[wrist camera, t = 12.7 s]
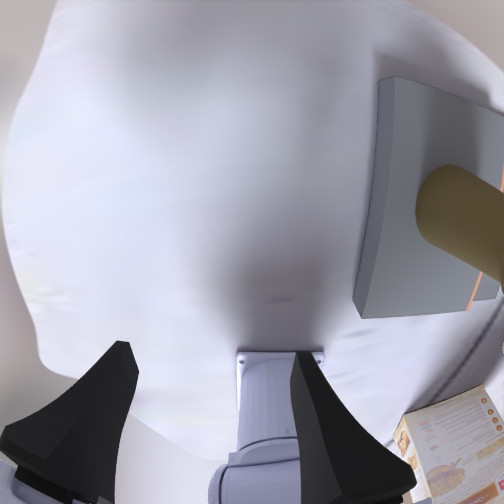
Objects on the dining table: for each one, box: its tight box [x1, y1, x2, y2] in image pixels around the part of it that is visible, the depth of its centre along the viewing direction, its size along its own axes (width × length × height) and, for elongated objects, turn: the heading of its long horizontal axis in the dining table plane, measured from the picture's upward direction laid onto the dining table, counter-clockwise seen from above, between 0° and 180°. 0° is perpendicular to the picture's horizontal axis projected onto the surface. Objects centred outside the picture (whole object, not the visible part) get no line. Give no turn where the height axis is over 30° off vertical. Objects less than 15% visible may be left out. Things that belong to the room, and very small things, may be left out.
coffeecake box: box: [393, 384, 504, 504], centre depth 22 cm, size 15×7×20 cm, turn 98°
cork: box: [415, 164, 504, 294], centre depth 11 cm, size 6×6×11 cm
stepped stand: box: [353, 76, 504, 319], centre depth 18 cm, size 17×17×3 cm
